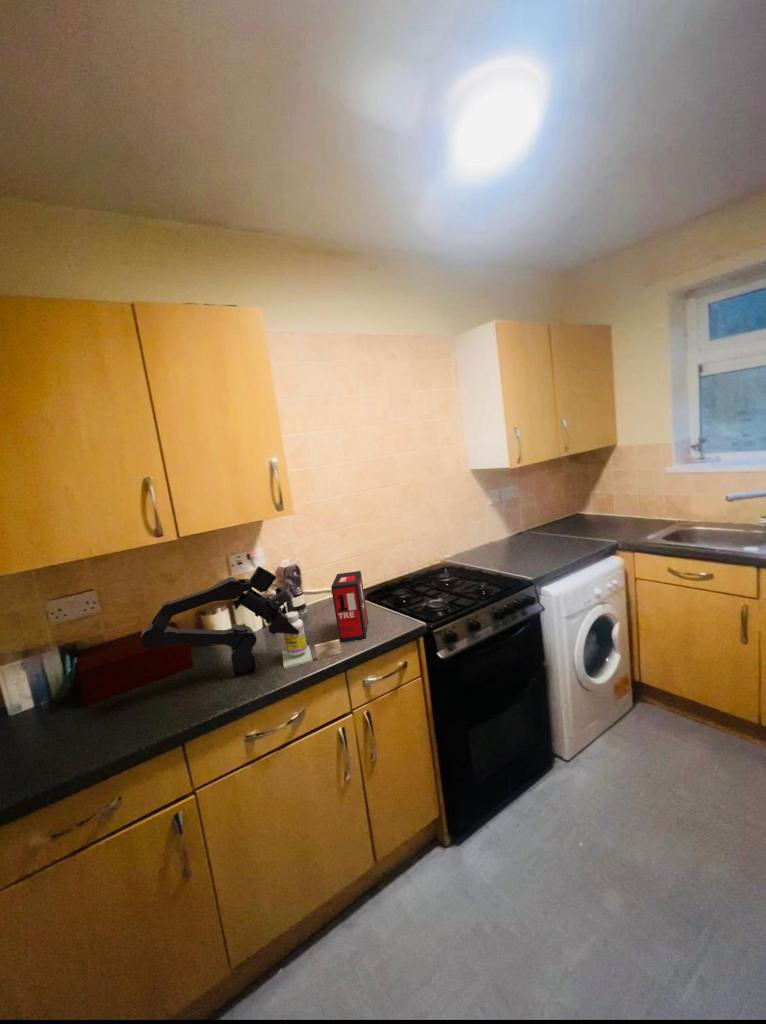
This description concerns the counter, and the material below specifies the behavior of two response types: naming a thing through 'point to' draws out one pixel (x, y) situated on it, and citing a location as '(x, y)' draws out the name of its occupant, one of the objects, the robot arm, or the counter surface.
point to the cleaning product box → (350, 606)
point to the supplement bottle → (295, 636)
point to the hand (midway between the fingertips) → (298, 629)
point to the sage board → (296, 658)
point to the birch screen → (328, 649)
